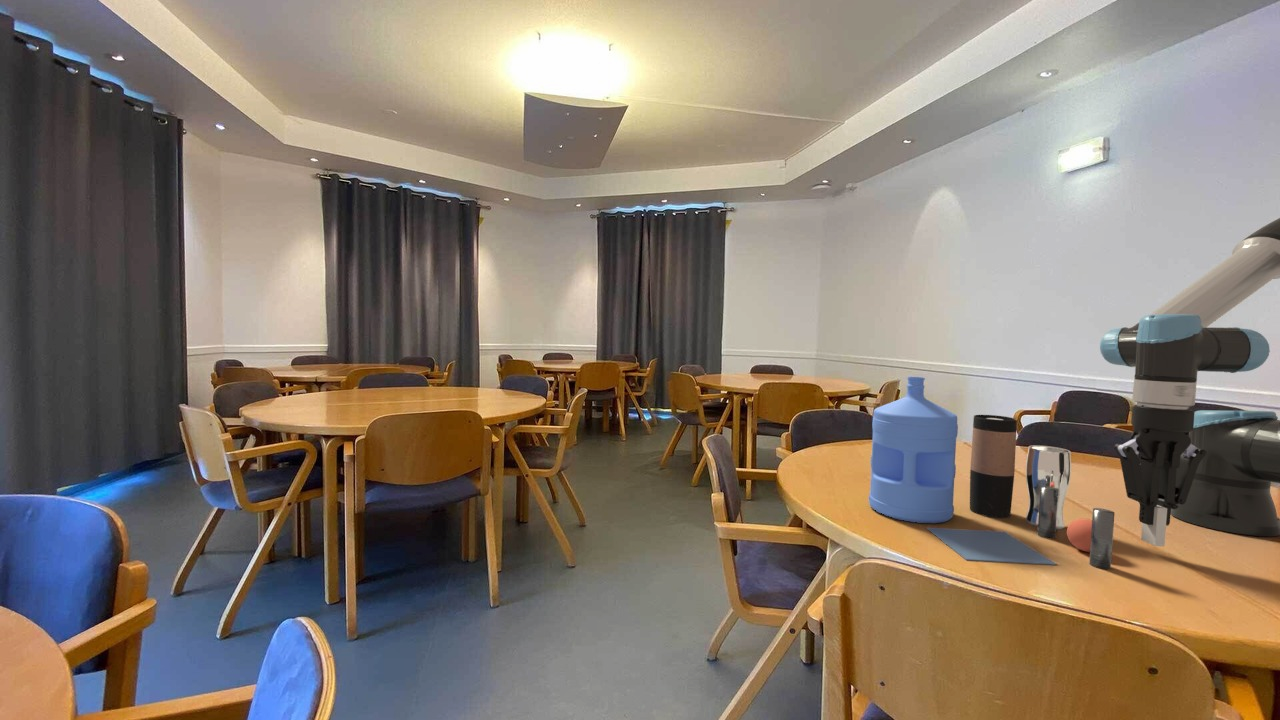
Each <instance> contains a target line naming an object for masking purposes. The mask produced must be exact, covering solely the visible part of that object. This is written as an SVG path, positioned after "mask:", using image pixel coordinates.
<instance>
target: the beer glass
mask: <svg viewBox="0 0 1280 720" xmlns="http://www.w3.org/2000/svg"><path fill="white" fill-rule="evenodd" d="M1027 448H1028V449H1027V456H1026V462H1025V480H1026V485H1027V487H1026V488H1027V493H1028V508H1027V512H1026V514H1025V515H1026V516H1025V522H1026V523H1027V524H1029V525H1031V526H1034V527H1037V528H1038V519H1039V503H1040V487H1041V486H1049V487H1054V488H1057V489H1058V502H1057V518H1056V531H1057V530H1063V529H1064V528H1065V521H1064V513H1063V509H1064V503H1065V500H1066V497H1067V493H1068V490H1069V486H1070V481H1071V474H1072V473H1071V472H1072V461H1071V460H1072V459H1071V451H1070V450H1068V449H1066V448H1061V447H1056V446H1048V445H1035V444H1034V445H1029V446H1028V447H1027Z"/></svg>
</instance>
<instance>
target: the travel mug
mask: <svg viewBox="0 0 1280 720" xmlns="http://www.w3.org/2000/svg"><path fill="white" fill-rule="evenodd" d="M972 421H973V424H972V436H971V437H972V439H971V440H972V441H971V452H970V454H971V455H970V468H969V469H970V471H969V510H970V511H971V512H972V513H974V514H977V515H981V516H984V517H990V518H996V519H997V518H998V519H1006V518H1010V517H1011V512H1012V511H1011V510H1012V502H1013V493H1014V492H1013V491H1014V483H1015V482H1014V481H1015V470H1016V468H1015V467H1016V448H1017V446H1016V445H1017V425H1018V420H1016V418H1013V417H1010V416H1004V415H995V414H975V415H973V420H972Z"/></svg>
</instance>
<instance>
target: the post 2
mask: <svg viewBox="0 0 1280 720" xmlns="http://www.w3.org/2000/svg"><path fill="white" fill-rule="evenodd" d="M1091 520H1092V531H1091V546H1090V552H1089V565H1090V566H1092V567H1094V568H1097V569H1101V570H1111V567H1112V556H1113V555H1112V554H1113V543H1114V542H1113V541H1114V540H1113V539H1114V525H1115V512H1114V511H1113V510H1110V509H1106V508H1100V507H1093V508H1092V517H1091Z"/></svg>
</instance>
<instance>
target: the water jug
mask: <svg viewBox="0 0 1280 720" xmlns="http://www.w3.org/2000/svg"><path fill="white" fill-rule="evenodd" d="M906 379H907V385H906V389H907V390H906V395H905V396H904V397H902V398H900V399H897V400H894V401H892V402H888V403H886V404H883V405H880V406H878V407H876V408H875V409H874V410H873V416H872V425H871V426H872V428H871V429H872V441H871V442H872V445H871V446H872V447H871V455H870V487H869V489H870V490H869V493H868V494H869V495H868V503H869V506H870V507H871V509H873V510H874V511H875V510H876V512H877V513H879V514H881V513H882V514H881V515H883V514H884V515H883V516H886V517H888V516H889V517H888V518H891V517H892V519H894V520H895V519H896V520H900V521H903V520H904V522H909V521H910V522H911V523H915V522H917V523H918V524H941V523H945V522H948V521H950V520H951V519H952V518H953V516H954V512H955V507H954V491H955V478H956V469H957V468H956V453H957V452H956V451H957V450H956V449H957V437H958V433H959V432H958V430H959V429H958V428H959V424H958V416H957V415H956V414H955V413H953V412H952V411H950V410H948V409H946V408H945V407H942V406H940V405H938V404H937V403H935V402H933V401H931V400H929V399H927V398H926V397H925V395H924V392H925V391H924V390H925V384H924V382H925V379H926V378H925V377H919V376H907V377H906ZM910 522H909V523H910Z"/></svg>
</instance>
